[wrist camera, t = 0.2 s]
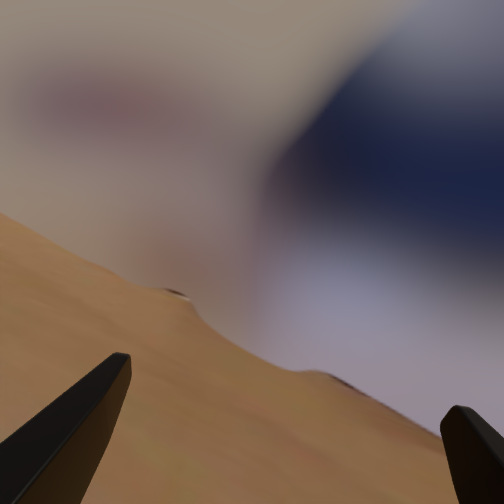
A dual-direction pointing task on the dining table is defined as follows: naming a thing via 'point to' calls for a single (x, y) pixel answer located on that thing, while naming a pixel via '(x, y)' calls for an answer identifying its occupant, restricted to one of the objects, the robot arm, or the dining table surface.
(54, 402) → the robot arm
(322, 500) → the dining table surface
